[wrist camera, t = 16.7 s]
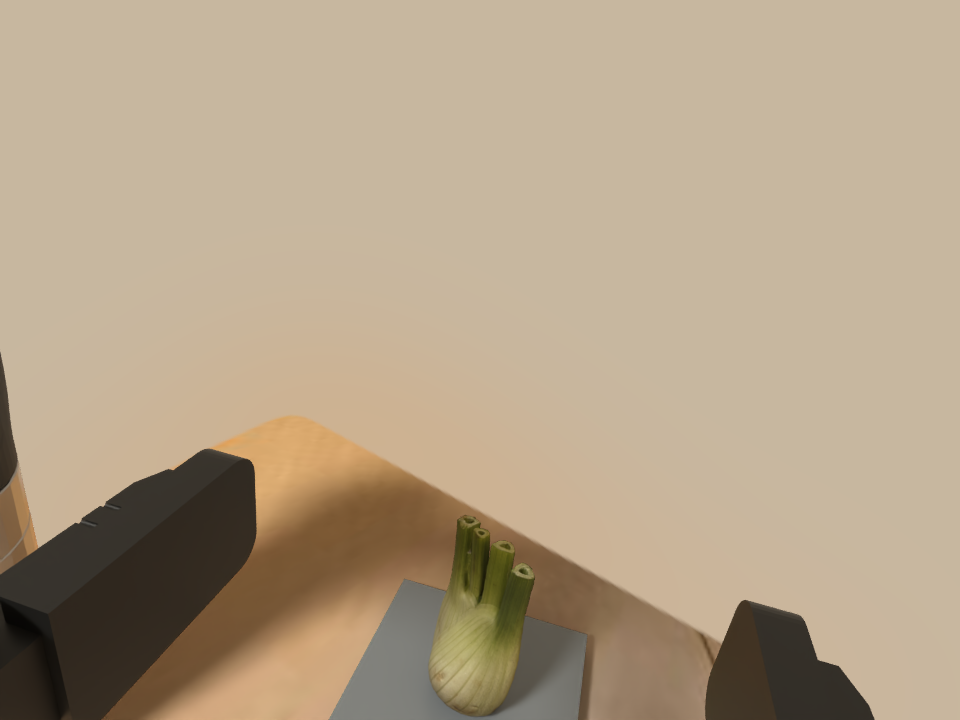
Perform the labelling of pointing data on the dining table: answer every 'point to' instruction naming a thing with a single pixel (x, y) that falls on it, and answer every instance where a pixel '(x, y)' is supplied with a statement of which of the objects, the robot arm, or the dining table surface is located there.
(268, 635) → the dining table surface
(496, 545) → the fennel bulb
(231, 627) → the dining table surface
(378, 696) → the slate board
